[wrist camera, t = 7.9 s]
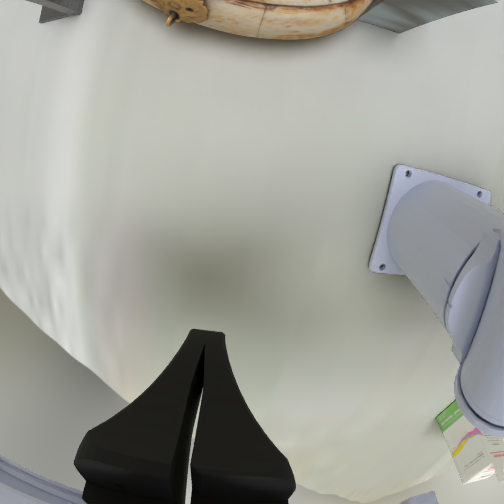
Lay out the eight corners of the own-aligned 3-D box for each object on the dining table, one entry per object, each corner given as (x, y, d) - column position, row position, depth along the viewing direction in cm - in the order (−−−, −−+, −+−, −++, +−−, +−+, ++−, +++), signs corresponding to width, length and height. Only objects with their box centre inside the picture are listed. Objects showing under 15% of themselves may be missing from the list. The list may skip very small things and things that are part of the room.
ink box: (433, 417, 33) (466, 504, 20) (459, 395, 31) (500, 482, 18) (460, 422, 35) (491, 495, 22) (484, 401, 33) (520, 475, 20)
